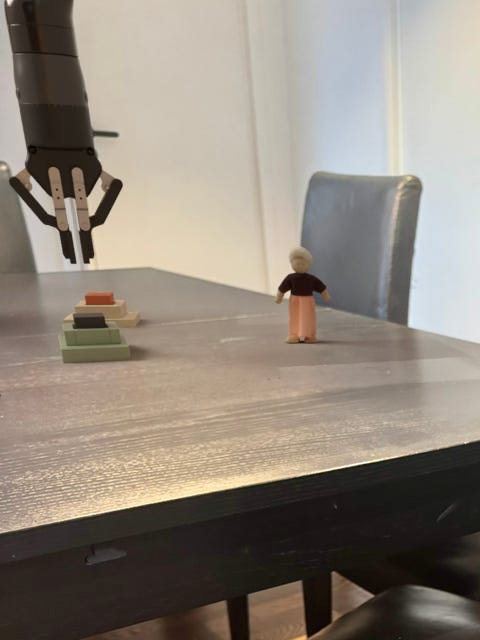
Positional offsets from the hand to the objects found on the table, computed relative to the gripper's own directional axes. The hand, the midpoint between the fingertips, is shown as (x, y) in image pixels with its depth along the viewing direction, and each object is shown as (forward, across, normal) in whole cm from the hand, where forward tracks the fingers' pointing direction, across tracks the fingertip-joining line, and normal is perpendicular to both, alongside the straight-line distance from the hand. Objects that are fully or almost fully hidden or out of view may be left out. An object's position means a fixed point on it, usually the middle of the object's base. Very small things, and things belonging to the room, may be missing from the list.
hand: (79, 263), depth 114 cm
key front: (+8, 0, 0) cm, 8 cm away
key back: (+8, -3, -26) cm, 27 cm away
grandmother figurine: (+11, -29, -2) cm, 31 cm away
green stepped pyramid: (+11, 0, 0) cm, 11 cm away
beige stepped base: (+11, -3, -26) cm, 28 cm away
